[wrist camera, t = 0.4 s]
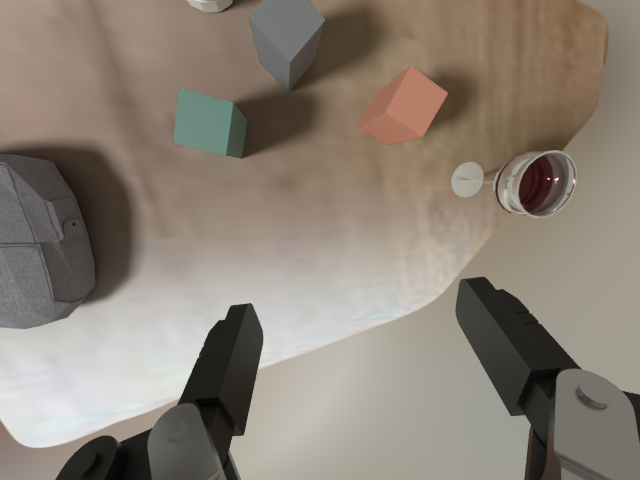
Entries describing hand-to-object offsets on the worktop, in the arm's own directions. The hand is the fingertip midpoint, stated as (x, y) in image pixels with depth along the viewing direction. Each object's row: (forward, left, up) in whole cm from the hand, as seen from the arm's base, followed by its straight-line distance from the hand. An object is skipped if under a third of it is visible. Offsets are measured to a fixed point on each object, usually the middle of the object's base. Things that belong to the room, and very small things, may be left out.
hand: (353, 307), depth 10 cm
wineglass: (+11, +21, -27) cm, 36 cm away
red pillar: (-3, +15, -27) cm, 31 cm away
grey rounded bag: (-17, -29, -27) cm, 43 cm away
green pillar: (-13, -2, -27) cm, 30 cm away
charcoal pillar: (-15, +9, -27) cm, 32 cm away
